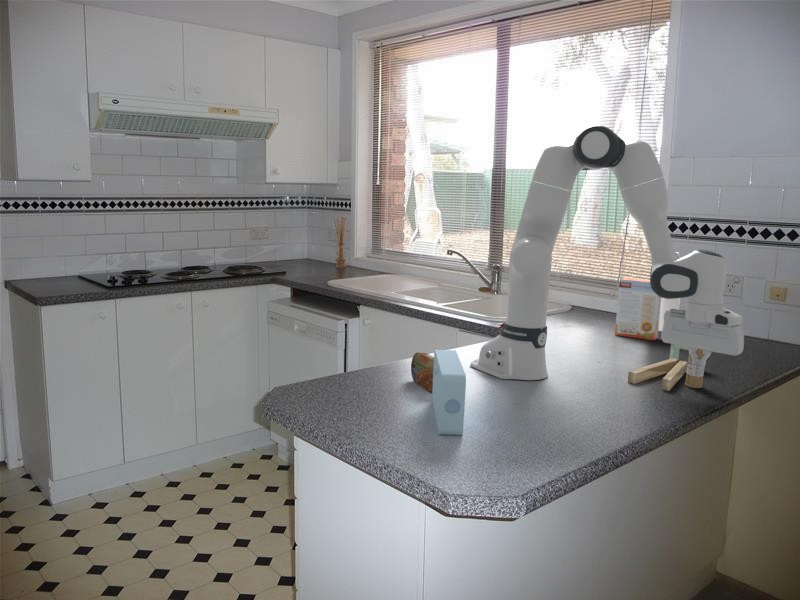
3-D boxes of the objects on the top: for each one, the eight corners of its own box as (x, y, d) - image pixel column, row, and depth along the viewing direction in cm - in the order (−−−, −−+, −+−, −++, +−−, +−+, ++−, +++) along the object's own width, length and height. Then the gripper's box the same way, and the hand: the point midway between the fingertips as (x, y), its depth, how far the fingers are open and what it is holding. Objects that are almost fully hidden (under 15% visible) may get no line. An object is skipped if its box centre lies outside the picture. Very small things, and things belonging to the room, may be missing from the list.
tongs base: (627, 382, 190) (628, 371, 190) (673, 367, 209) (674, 357, 208) (637, 384, 188) (638, 374, 188) (682, 369, 206) (683, 359, 206)
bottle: (656, 331, 260) (664, 252, 255) (653, 327, 267) (661, 250, 262) (678, 333, 258) (687, 253, 253) (675, 329, 266) (684, 251, 261)
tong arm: (661, 389, 185) (662, 378, 184) (678, 370, 205) (680, 360, 205) (669, 390, 184) (670, 380, 183) (686, 371, 204) (687, 361, 204)
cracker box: (657, 338, 248) (664, 281, 245) (654, 341, 243) (660, 282, 240) (618, 332, 256) (624, 276, 252) (614, 335, 250) (619, 278, 247)
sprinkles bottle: (681, 383, 191) (686, 336, 189) (697, 383, 192) (702, 336, 189) (689, 388, 187) (695, 340, 184) (705, 388, 187) (711, 340, 185)
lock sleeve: (668, 365, 210) (671, 343, 209) (674, 363, 213) (677, 341, 212) (696, 372, 204) (698, 349, 203) (701, 369, 207) (704, 347, 206)
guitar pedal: (428, 401, 167) (431, 348, 165) (452, 402, 167) (455, 348, 165) (435, 436, 144) (438, 375, 142) (462, 437, 144) (466, 376, 142)
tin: (409, 379, 185) (410, 348, 183) (420, 378, 186) (421, 348, 185) (434, 396, 171) (435, 363, 170) (445, 395, 172) (447, 362, 171)
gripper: (659, 308, 183) (655, 359, 185) (739, 320, 168) (733, 375, 170) (670, 306, 187) (666, 355, 189) (749, 317, 172) (743, 371, 175)
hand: (698, 365), depth 180 cm, fingers closed
